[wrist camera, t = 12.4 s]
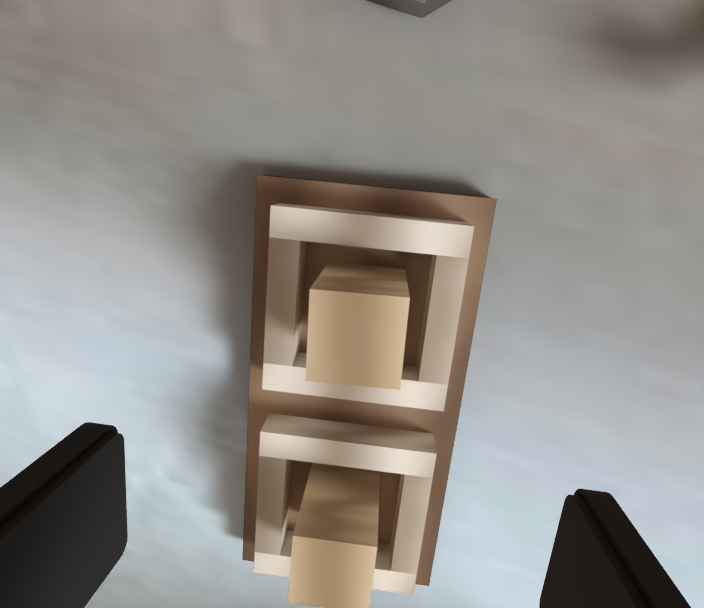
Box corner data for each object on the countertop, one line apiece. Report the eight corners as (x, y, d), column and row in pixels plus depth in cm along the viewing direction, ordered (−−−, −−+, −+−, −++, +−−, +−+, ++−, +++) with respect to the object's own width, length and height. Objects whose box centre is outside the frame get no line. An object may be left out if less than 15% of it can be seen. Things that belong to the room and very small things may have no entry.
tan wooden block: (404, 268, 24) (410, 297, 18) (397, 340, 25) (400, 389, 19) (328, 262, 24) (309, 288, 19) (324, 334, 25) (305, 380, 20)
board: (490, 197, 24) (533, 207, 17) (426, 566, 31) (438, 686, 24) (264, 175, 25) (214, 174, 18) (249, 542, 31) (207, 651, 24)
